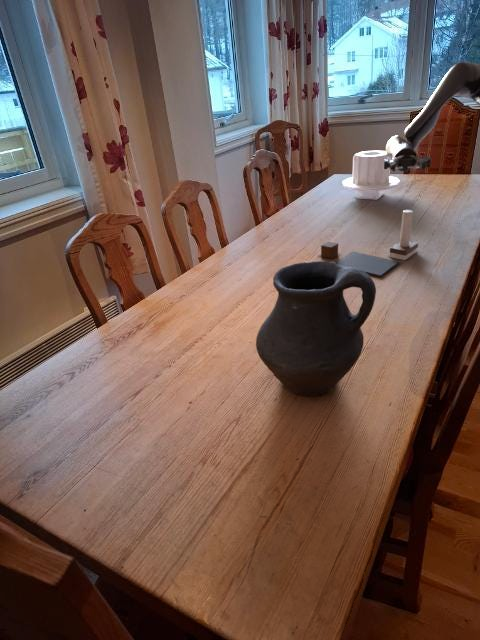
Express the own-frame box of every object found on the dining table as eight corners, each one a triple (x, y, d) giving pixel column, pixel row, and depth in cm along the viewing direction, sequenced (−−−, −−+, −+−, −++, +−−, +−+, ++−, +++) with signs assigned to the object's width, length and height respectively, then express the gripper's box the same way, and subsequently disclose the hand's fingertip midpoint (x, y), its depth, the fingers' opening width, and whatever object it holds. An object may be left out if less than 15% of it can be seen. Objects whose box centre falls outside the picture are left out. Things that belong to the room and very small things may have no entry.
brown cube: (338, 255, 143) (338, 243, 141) (331, 259, 140) (331, 247, 138) (327, 252, 145) (327, 241, 143) (321, 256, 143) (321, 245, 141)
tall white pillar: (401, 248, 143) (405, 206, 135) (417, 252, 139) (422, 208, 132) (389, 257, 138) (393, 213, 131) (405, 260, 134) (410, 216, 127)
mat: (399, 263, 133) (399, 261, 132) (380, 277, 126) (380, 275, 125) (353, 253, 143) (353, 251, 142) (333, 265, 136) (333, 264, 135)
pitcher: (277, 345, 100) (271, 243, 87) (374, 358, 92) (383, 248, 79) (246, 402, 83) (233, 287, 71) (360, 424, 76) (369, 299, 63)
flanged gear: (404, 191, 203) (408, 148, 193) (388, 205, 185) (392, 159, 176) (353, 188, 216) (355, 148, 206) (333, 201, 198) (334, 158, 189)
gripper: (383, 147, 148) (385, 155, 135) (427, 144, 145) (434, 153, 131) (381, 169, 152) (383, 180, 139) (424, 167, 149) (431, 178, 135)
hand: (408, 167), depth 135 cm, fingers open, 8 cm apart
